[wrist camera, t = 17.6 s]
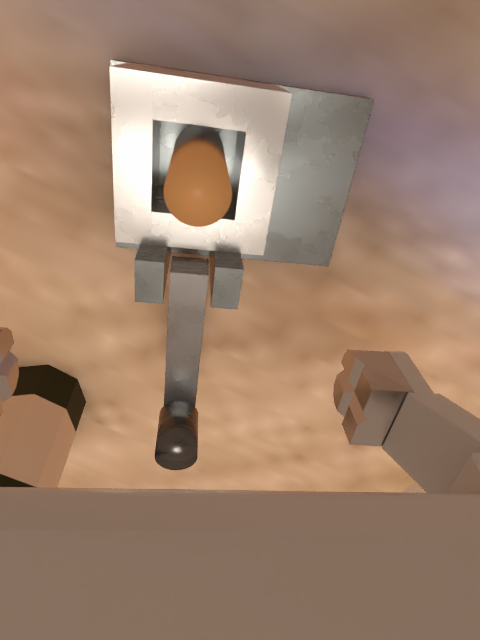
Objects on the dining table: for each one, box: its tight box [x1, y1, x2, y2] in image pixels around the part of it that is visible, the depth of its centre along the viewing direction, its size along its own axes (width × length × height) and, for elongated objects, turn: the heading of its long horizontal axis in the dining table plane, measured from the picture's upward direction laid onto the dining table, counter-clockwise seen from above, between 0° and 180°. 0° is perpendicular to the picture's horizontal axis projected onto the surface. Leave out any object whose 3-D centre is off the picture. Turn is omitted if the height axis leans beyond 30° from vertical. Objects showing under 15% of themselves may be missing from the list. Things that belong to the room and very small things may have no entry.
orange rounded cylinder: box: [164, 125, 232, 227], centre depth 26 cm, size 4×4×10 cm
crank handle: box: [155, 256, 208, 470], centre depth 29 cm, size 3×14×6 cm, turn 173°
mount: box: [110, 60, 374, 309], centre depth 28 cm, size 18×13×10 cm
